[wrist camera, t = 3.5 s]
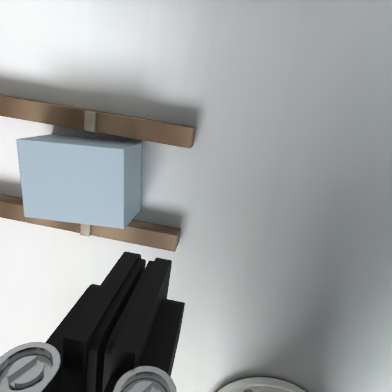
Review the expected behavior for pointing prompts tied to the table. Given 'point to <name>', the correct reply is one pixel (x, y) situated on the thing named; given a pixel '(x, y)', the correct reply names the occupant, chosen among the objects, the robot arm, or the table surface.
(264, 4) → the table surface
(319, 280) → the table surface
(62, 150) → the block
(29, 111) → the wooden rail frame
